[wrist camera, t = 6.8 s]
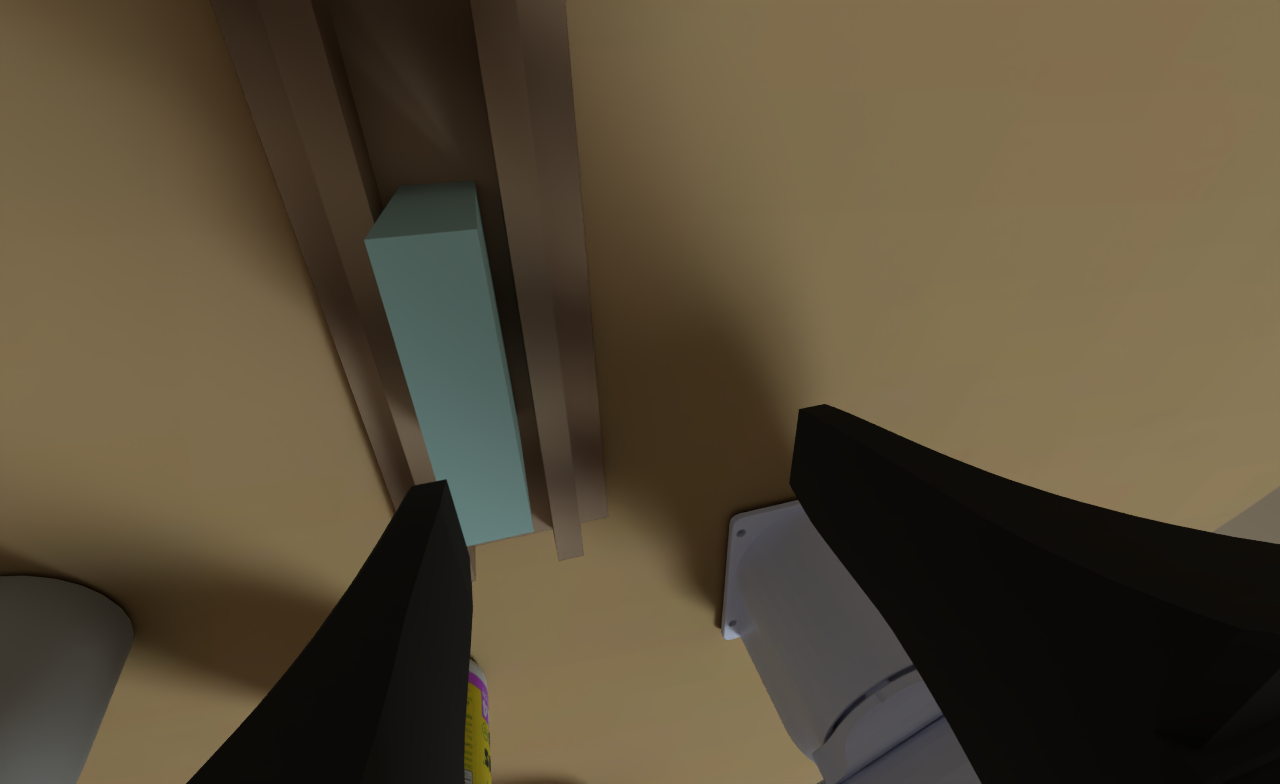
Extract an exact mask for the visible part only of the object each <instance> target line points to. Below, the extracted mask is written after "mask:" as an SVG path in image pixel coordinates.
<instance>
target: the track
mask: <svg viewBox="0 0 1280 784" xmlns="http://www.w3.org/2000/svg"><path fill="white" fill-rule="evenodd" d="M210 2H211V5H212V7H213V10H214V13H215V16H216V18H217V21H218V24H219V27H220V29H221V32H222V35H223V38H224V40H225V43H226V46H227V49H228V51H229V54H230V57H231V60H232V62H233V65H234V68H235V71H236V73H237V76H238V79H239V82H240V84H241V87H242V90H243V93H244V95H245V98H246V101H247V104H248V106H249V109H250V112H251V115H252V117H253V120H254V123H255V126H256V128H257V131H258V134H259V137H260V139H261V142H262V145H263V148H264V150H265V153H266V156H267V159H268V161H269V164H270V167H271V169H272V172H273V175H274V178H275V180H276V183H277V186H278V189H279V191H280V194H281V197H282V200H283V202H284V205H285V208H286V211H287V213H288V216H289V219H290V222H291V224H292V227H293V230H294V233H295V235H296V238H297V241H298V244H299V246H300V249H301V252H302V255H303V257H304V260H305V263H306V266H307V268H308V271H309V274H310V277H311V279H312V282H313V285H314V288H315V290H316V293H317V296H318V299H319V301H320V304H321V307H322V310H323V312H324V315H325V318H326V321H327V323H328V326H329V329H330V332H331V334H332V337H333V340H334V343H335V345H336V348H337V351H338V354H339V356H340V359H341V362H342V365H343V367H344V370H345V373H346V376H347V378H348V381H349V384H350V387H351V389H352V392H353V395H354V398H355V400H356V403H357V406H358V409H359V411H360V414H361V417H362V420H363V422H364V425H365V428H366V431H367V433H368V436H369V439H370V442H371V444H372V447H373V450H374V453H375V455H376V458H377V461H378V464H379V466H380V469H381V472H382V475H383V477H384V480H385V483H386V486H387V488H388V491H389V494H390V497H391V499H392V502H393V505H394V507H395V510H396V511H397V509H398V507H399V505H400V504H401V502H402V500H403V498H404V497H405V495H406V493H407V492H408V490H409V489H410V488H411V487H412V486H414V485H419V484H424V483H429V482H435V481H436V479H435V475H434V472H433V469H432V465H431V462H430V459H429V455H428V452H427V449H426V445H425V442H424V438H423V435H422V432H421V428H420V425H419V422H418V418H417V415H416V412H415V408H414V405H413V402H412V398H411V395H410V392H409V388H408V385H407V382H406V378H405V375H404V372H403V368H402V365H401V362H400V358H399V355H398V352H397V348H396V345H395V342H394V338H393V335H392V332H391V328H390V325H389V322H388V318H387V315H386V312H385V308H384V305H383V302H382V298H381V295H380V292H379V288H378V285H377V282H376V278H375V275H374V272H373V268H372V265H371V262H370V258H369V255H368V252H367V248H366V245H365V242H364V239H365V238H366V236H367V235H368V233H369V232H370V230H371V229H372V227H373V226H374V224H375V223H376V221H377V220H378V218H379V217H380V215H381V214H382V212H383V211H384V209H385V208H386V206H387V205H388V203H389V201H390V200H391V198H392V197H393V195H394V194H395V192H396V191H397V189H398V188H399V186H403V185H417V184H430V183H443V182H456V181H470V180H475V186H476V191H477V197H478V202H479V208H480V213H481V219H482V224H483V230H484V235H485V241H486V246H487V252H488V258H489V263H490V269H491V274H492V280H493V285H494V291H495V296H496V302H497V307H498V313H499V318H500V324H501V329H502V335H503V340H504V346H505V351H506V357H507V362H508V368H509V373H510V379H511V384H512V390H513V395H514V401H515V406H516V412H517V418H518V425H519V432H520V439H521V446H522V453H523V460H524V467H525V474H526V481H527V488H528V495H529V502H530V509H531V516H532V523H533V530H534V532H530V533H526V534H521V535H517V536H512V537H508V538H503V539H499V540H494V541H490V542H485V543H481V544H476V545H471V546H467V549H468V552H469V555H470V565H471V581H472V582H473V581H476V567H475V546H479V545H484V544H488V543H493V542H497V541H502V540H506V539H511V538H515V537H520V536H524V535H529V534H533V533H538V532H542V531H547V530H552V529H553V532H554V537H555V543H556V548H557V553H558V559H559V561H562V560H567V559H571V558H575V557H579V556H584V552H583V544H582V536H581V528H580V523H583V522H588V521H592V520H597V519H601V518H606V517H608V509H607V497H606V485H605V473H604V461H603V449H602V437H601V425H600V413H599V401H598V389H597V377H596V365H595V353H594V341H593V329H592V317H591V305H590V293H589V281H588V269H587V257H586V245H585V233H584V221H583V209H582V197H581V185H580V173H579V161H578V149H577V137H576V125H575V114H574V102H573V90H572V78H571V66H570V54H569V42H568V30H567V18H566V6H565V0H210Z"/></svg>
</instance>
